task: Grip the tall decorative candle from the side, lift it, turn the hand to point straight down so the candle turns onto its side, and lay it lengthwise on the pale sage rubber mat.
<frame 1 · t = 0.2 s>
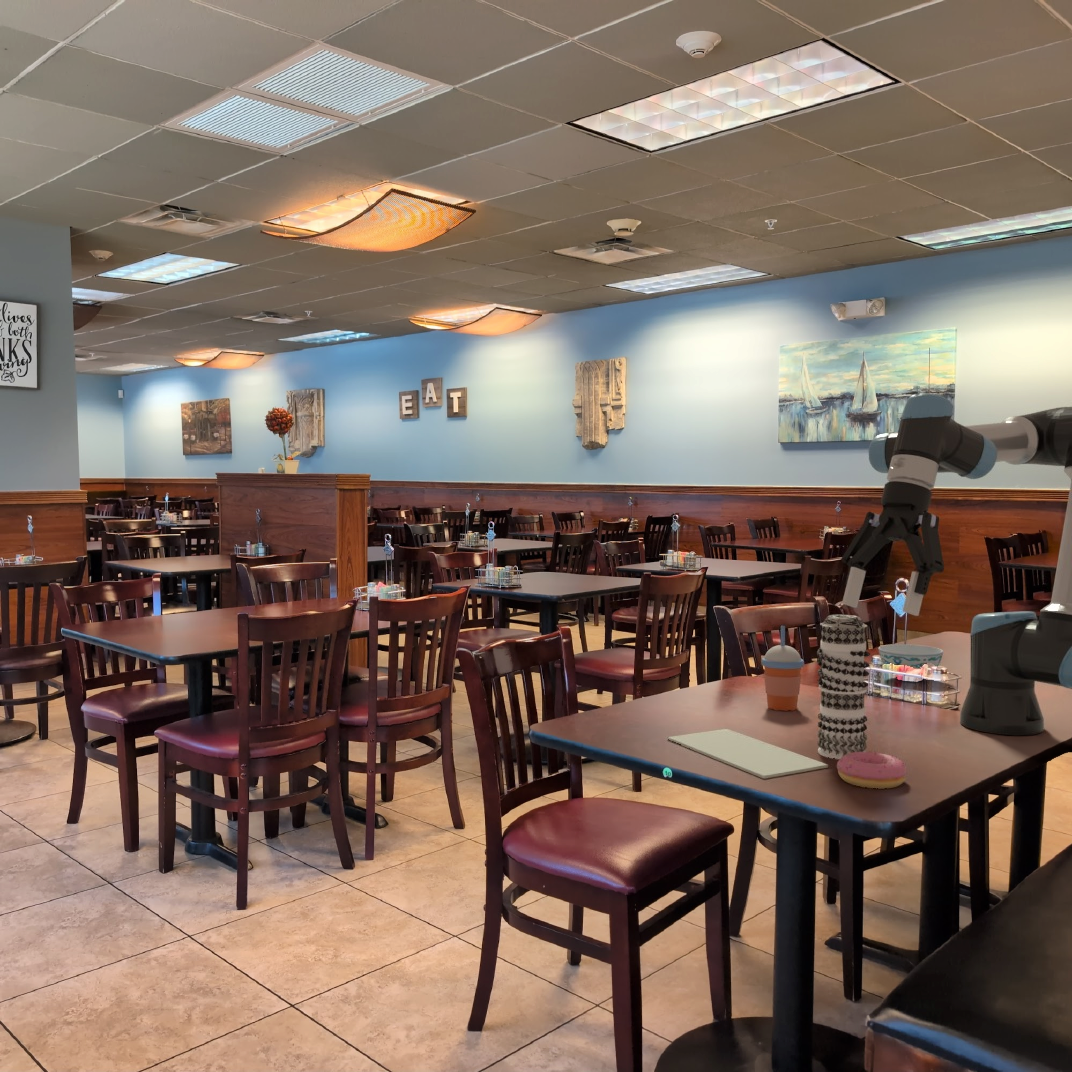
hand: (878, 609, 159), 28 cm above the table, tool tilted 20°, fingers open, 13 cm apart
decorative candle: (842, 754, 176), on the table
chinaware: (909, 680, 242), on the table
sage rubber mat: (743, 752, 176), on the table
doughnut: (871, 782, 160), on the table
cup with straw: (782, 708, 212), on the table
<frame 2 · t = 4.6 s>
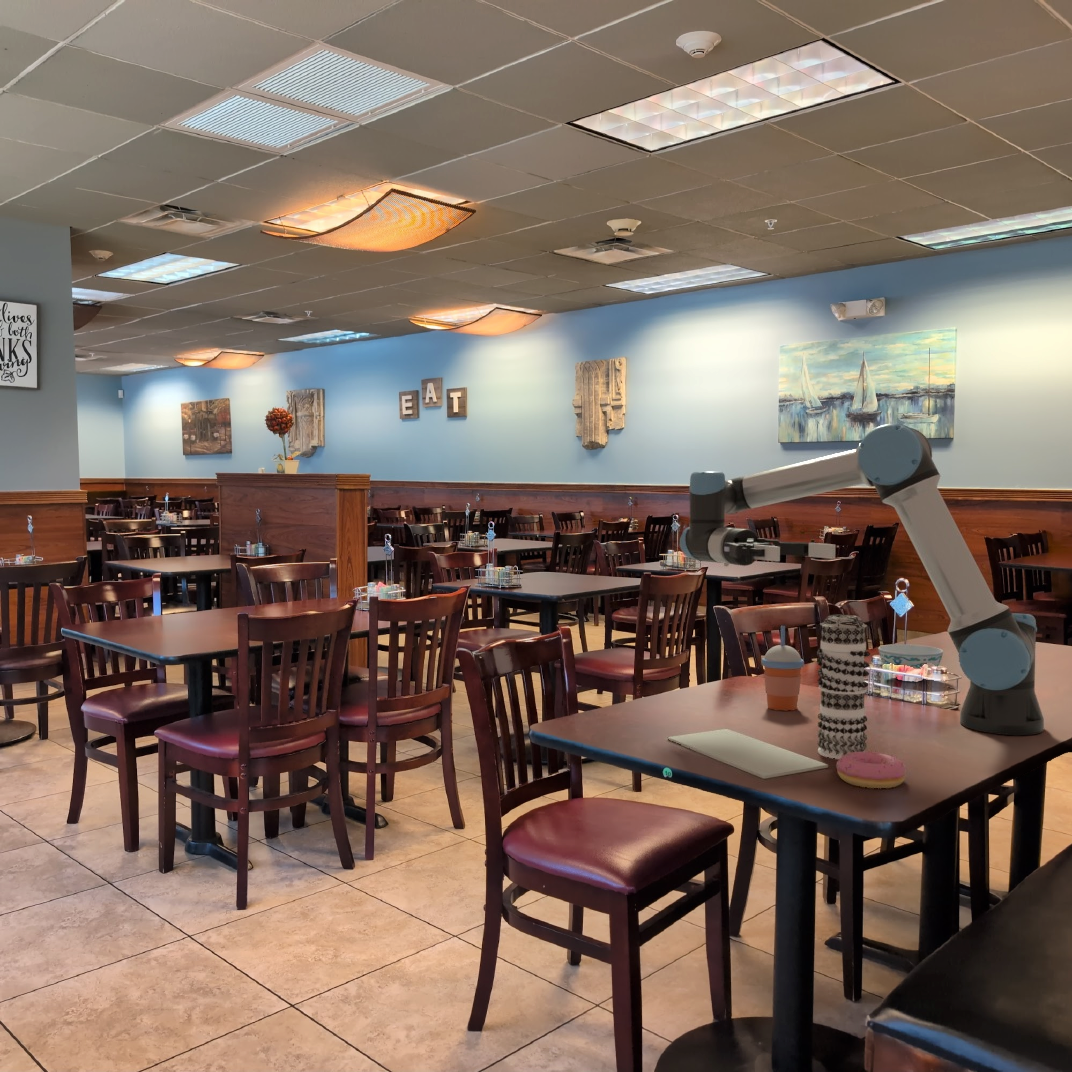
hand: (806, 552, 183), 36 cm above the table, tool horizontal, fingers open, 13 cm apart
nothing on the table moved.
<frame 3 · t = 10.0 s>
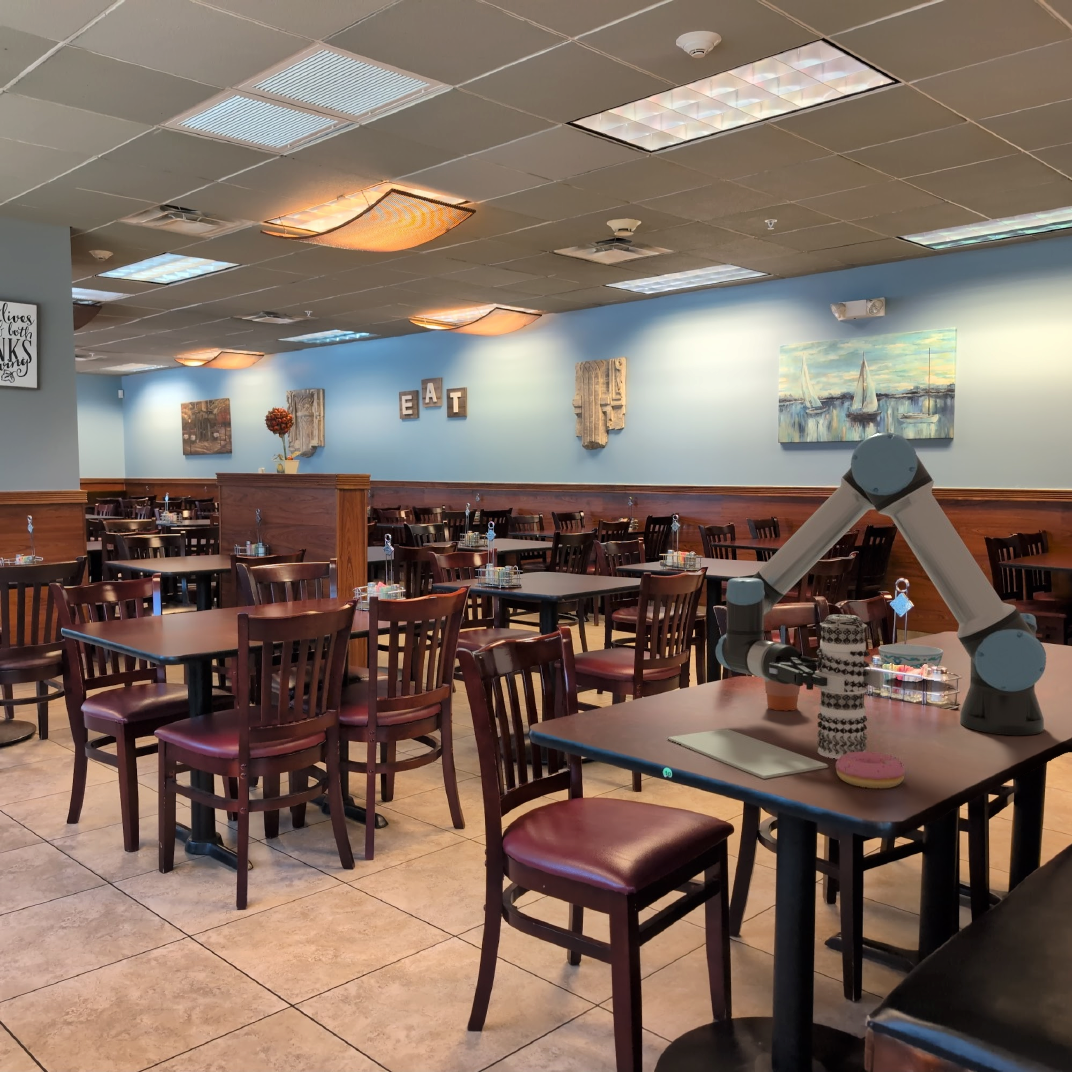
hand: (862, 682, 171), 14 cm above the table, tool horizontal, fingers closed on decorative candle, 8 cm apart
decorative candle: (842, 754, 176), on the table, touching gripper
everything else where it was.
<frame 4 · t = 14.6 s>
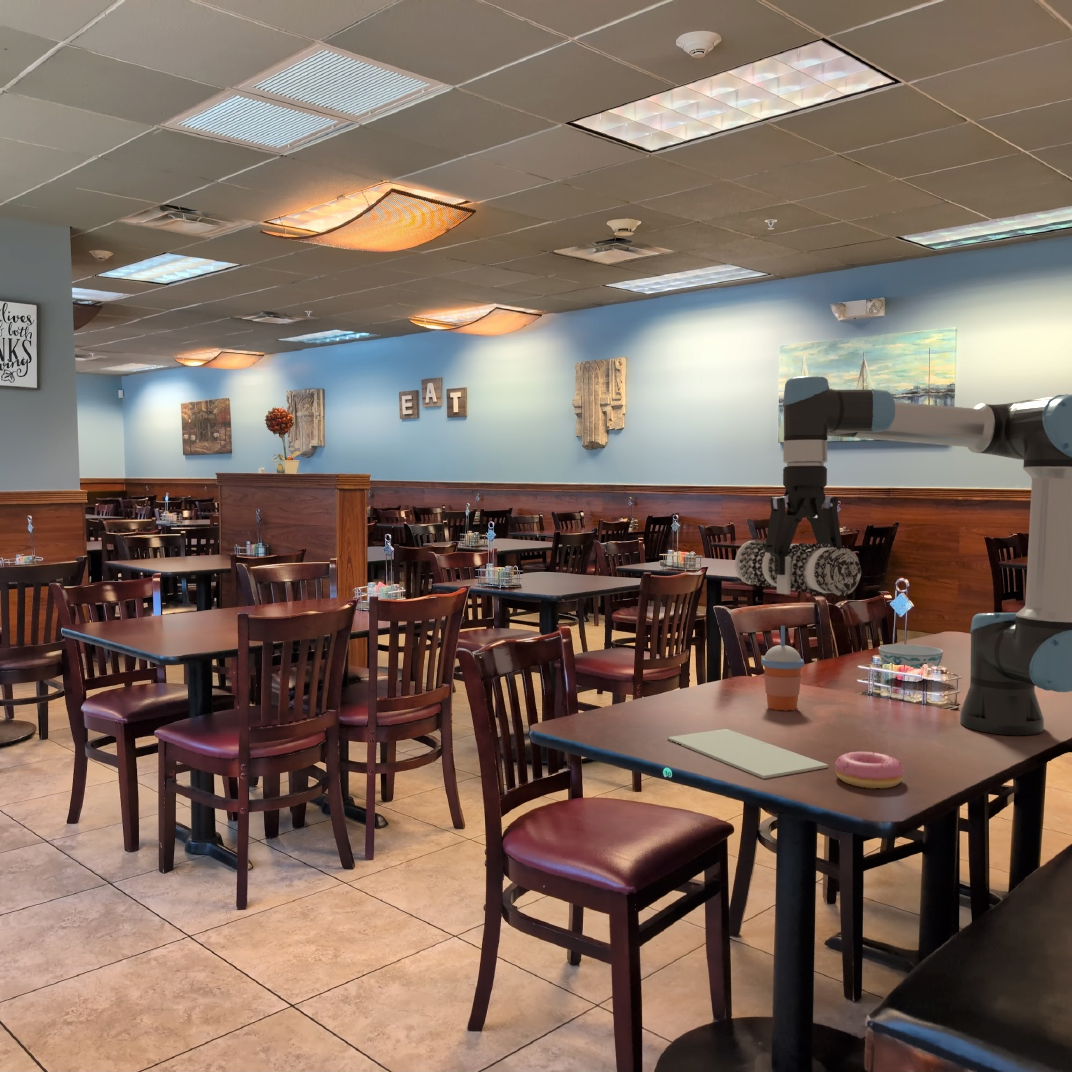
hand: (803, 592, 173), 29 cm above the table, tool pointing down, fingers closed on decorative candle, 8 cm apart
decorative candle: (751, 562, 186), point 34 cm above the table, touching gripper
everything else where it was.
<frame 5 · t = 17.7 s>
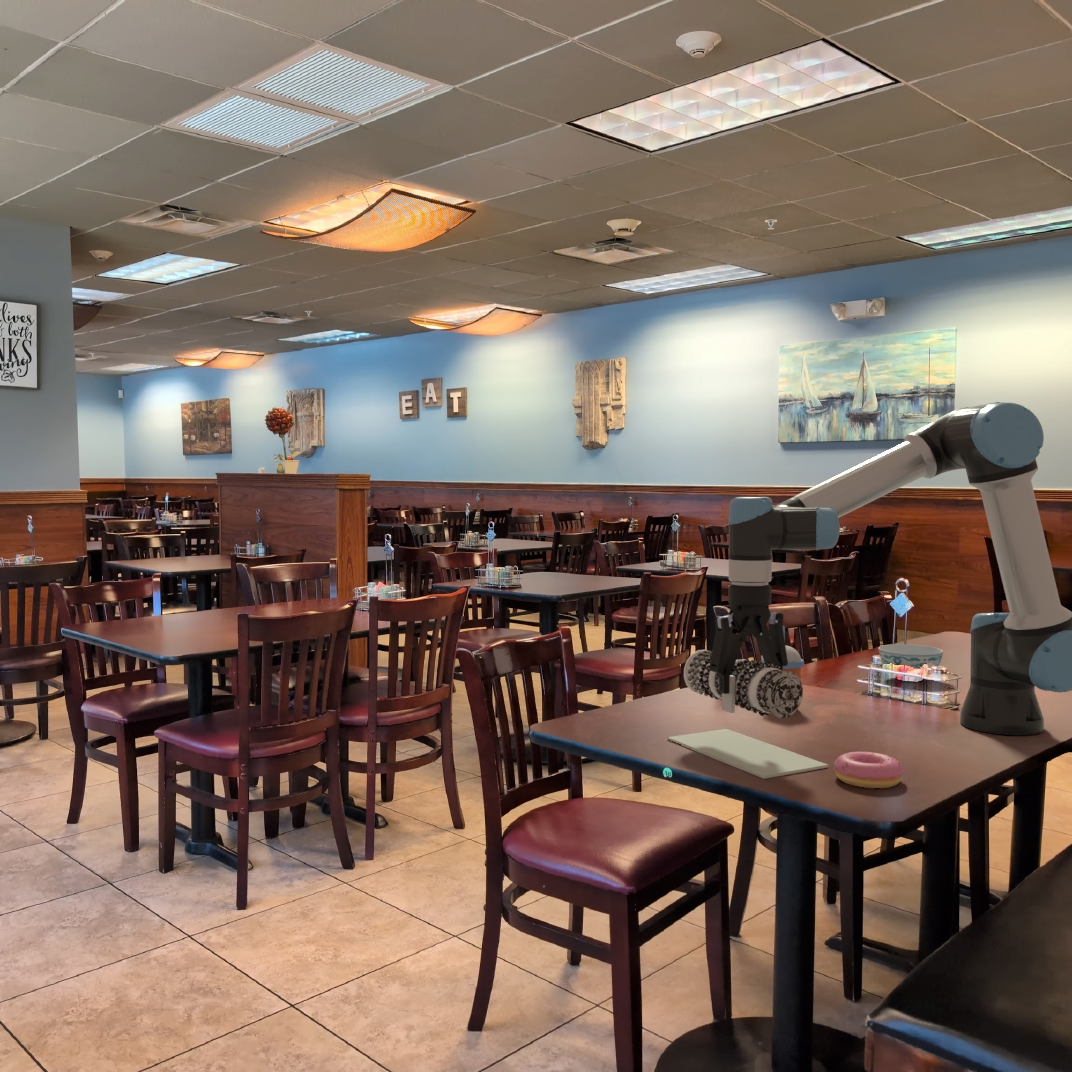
hand: (748, 708, 175), 8 cm above the table, tool pointing down, fingers closed on decorative candle, 8 cm apart
decorative candle: (701, 671, 187), point 13 cm above the table, touching gripper
everything else where it was.
when the fingers open (3 cm above the table, at t = 19.3 s): decorative candle drops 2 cm, resting on sage rubber mat.
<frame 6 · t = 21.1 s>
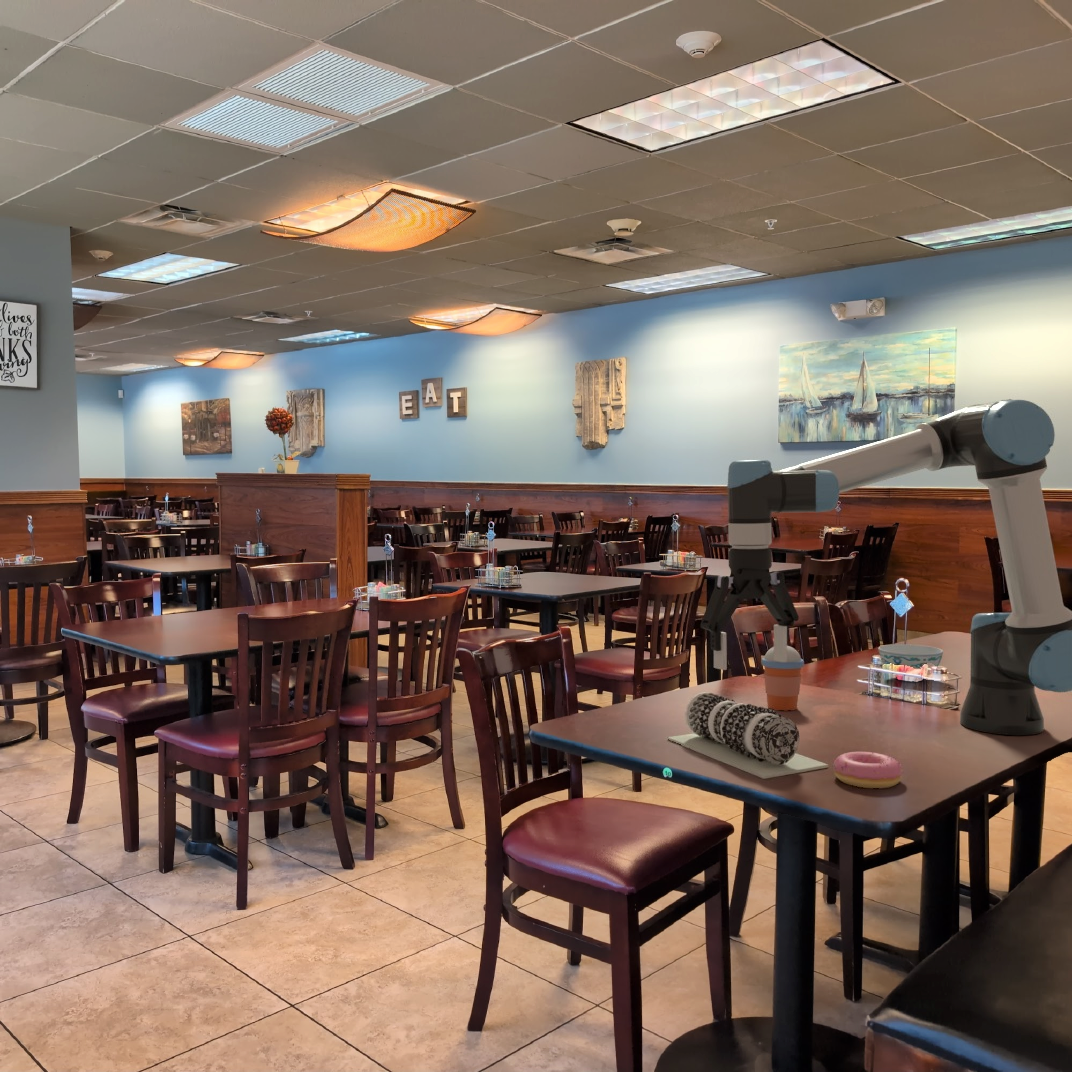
hand: (750, 665, 174), 16 cm above the table, tool pointing down, fingers open, 13 cm apart
decorative candle: (703, 713, 187), point 5 cm above the table, touching sage rubber mat
everything else where it was.
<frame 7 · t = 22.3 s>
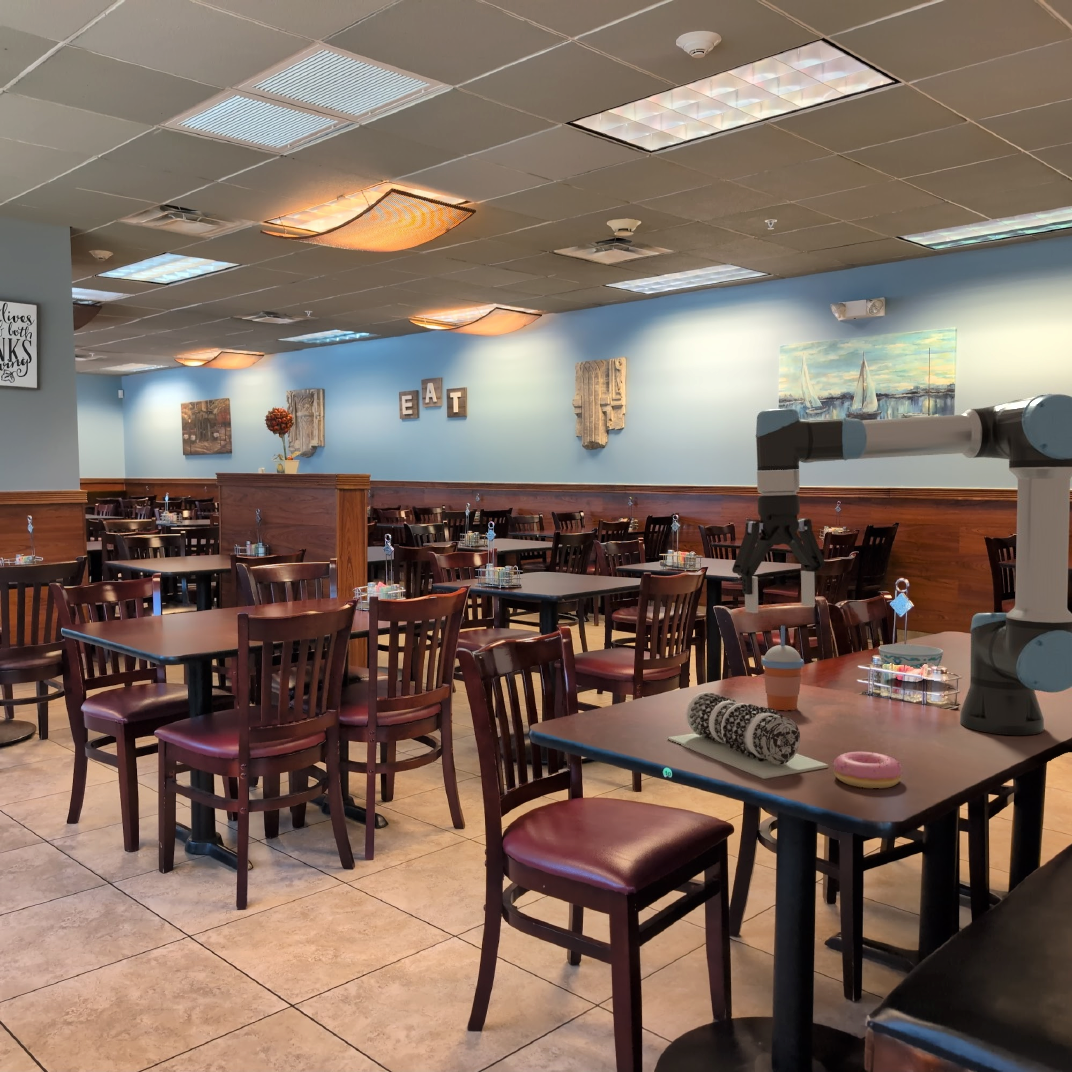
hand: (780, 609, 179), 26 cm above the table, tool pointing down, fingers open, 13 cm apart
nothing on the table moved.
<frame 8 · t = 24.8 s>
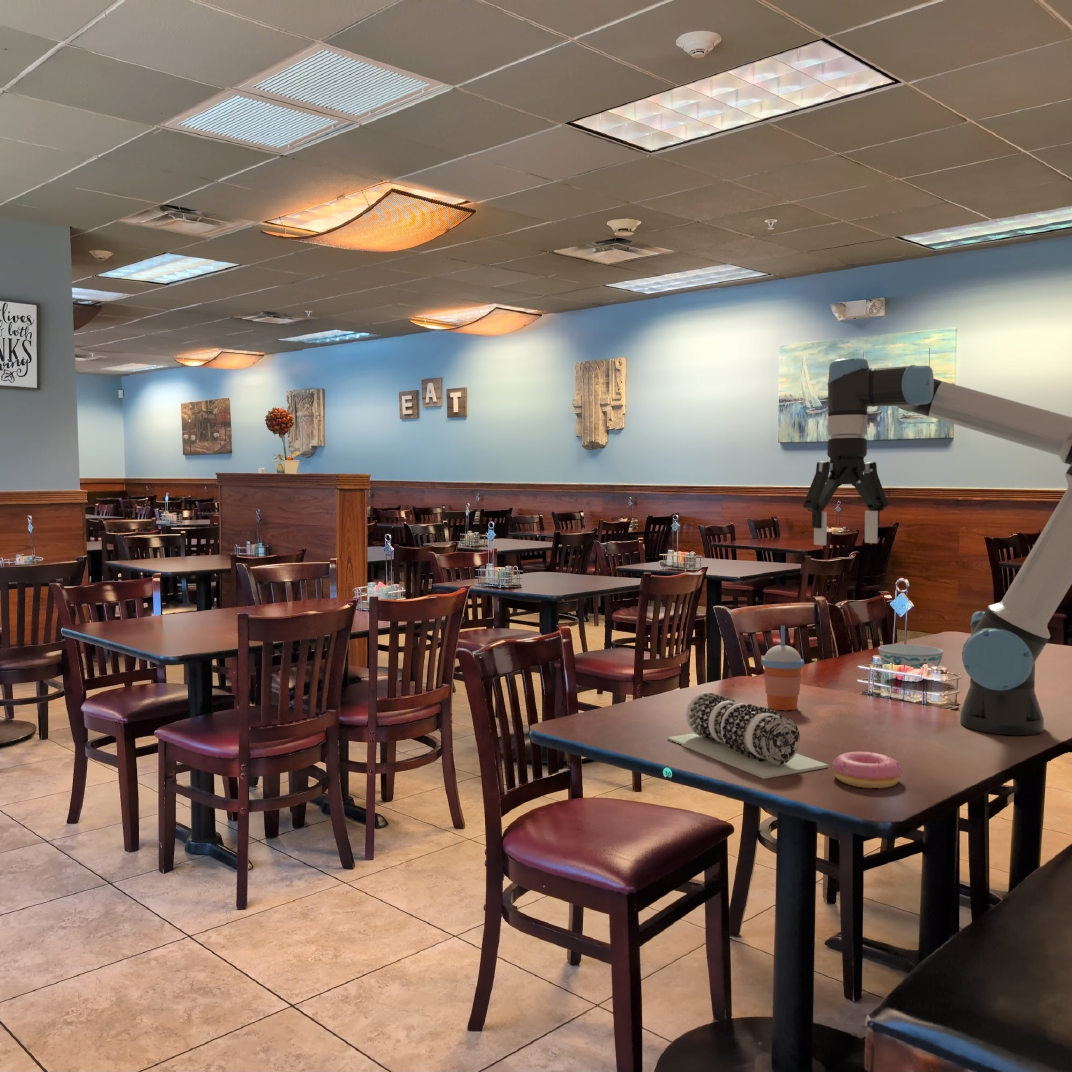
hand: (845, 544, 195), 37 cm above the table, tool pointing down, fingers open, 13 cm apart
nothing on the table moved.
at the end: decorative candle tilted 89°; decorative candle touching sage rubber mat; decorative candle 12.0 cm from the sage rubber mat (horizontally) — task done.
